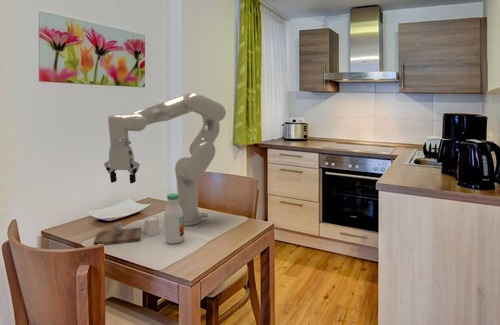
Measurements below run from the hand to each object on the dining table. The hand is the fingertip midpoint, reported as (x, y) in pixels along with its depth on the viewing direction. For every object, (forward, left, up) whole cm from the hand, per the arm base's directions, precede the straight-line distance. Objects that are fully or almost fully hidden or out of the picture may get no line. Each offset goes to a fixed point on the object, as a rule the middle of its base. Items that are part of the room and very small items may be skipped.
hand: (123, 182), depth 154 cm
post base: (+3, +7, -23) cm, 24 cm away
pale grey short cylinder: (-11, +5, -23) cm, 26 cm away
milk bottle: (-20, +17, -23) cm, 35 cm away
